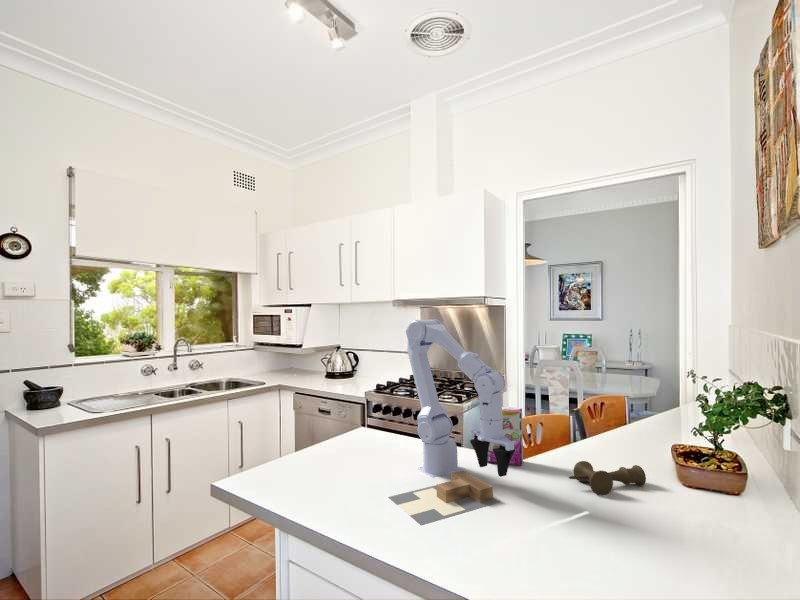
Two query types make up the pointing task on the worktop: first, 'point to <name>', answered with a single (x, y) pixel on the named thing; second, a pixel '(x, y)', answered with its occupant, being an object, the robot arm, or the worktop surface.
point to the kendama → (607, 477)
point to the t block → (464, 488)
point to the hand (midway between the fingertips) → (492, 470)
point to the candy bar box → (510, 435)
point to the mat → (434, 505)
